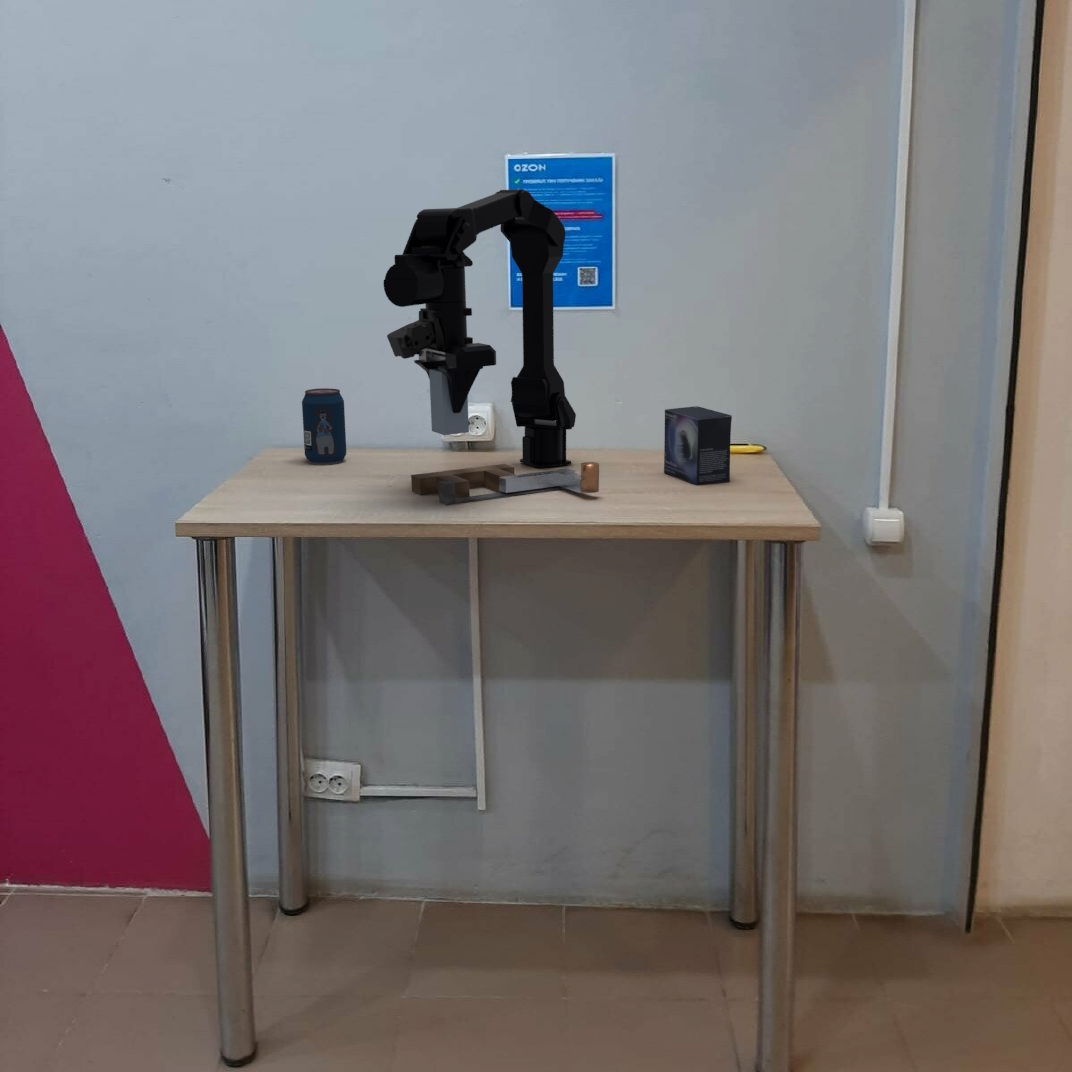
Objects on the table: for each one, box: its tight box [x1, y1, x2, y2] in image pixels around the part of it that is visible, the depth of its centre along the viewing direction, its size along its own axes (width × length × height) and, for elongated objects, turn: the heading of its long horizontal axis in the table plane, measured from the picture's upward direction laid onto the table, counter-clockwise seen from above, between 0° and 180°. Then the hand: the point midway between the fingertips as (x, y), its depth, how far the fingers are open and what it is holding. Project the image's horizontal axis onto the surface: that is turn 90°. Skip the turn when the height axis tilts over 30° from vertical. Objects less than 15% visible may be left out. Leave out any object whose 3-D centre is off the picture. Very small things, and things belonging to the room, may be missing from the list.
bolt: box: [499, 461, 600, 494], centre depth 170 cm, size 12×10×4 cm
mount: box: [410, 463, 567, 506], centre depth 175 cm, size 22×11×3 cm, turn 121°
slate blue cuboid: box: [429, 368, 470, 436], centre depth 169 cm, size 4×4×9 cm
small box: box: [663, 405, 733, 486], centre depth 182 cm, size 11×6×10 cm, turn 23°
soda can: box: [301, 387, 347, 465], centre depth 196 cm, size 7×7×12 cm
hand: (449, 410), depth 169 cm, fingers closed on slate blue cuboid, 4 cm apart
